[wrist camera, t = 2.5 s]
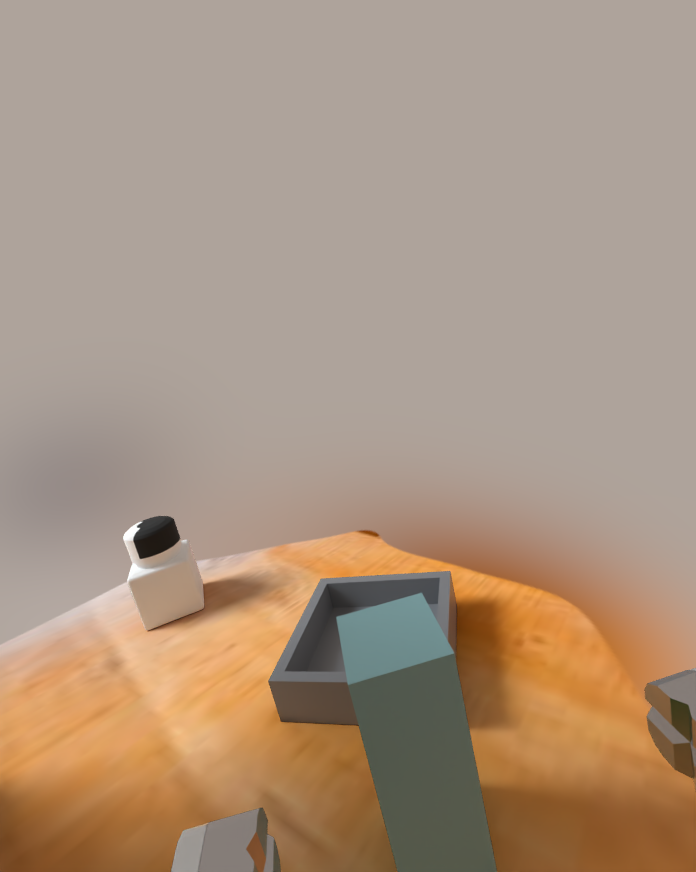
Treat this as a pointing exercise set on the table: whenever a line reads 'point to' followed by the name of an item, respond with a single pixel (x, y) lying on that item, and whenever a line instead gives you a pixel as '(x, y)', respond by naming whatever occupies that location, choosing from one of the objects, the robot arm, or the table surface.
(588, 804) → the table surface
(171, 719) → the table surface
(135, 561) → the medicine bottle
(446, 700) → the tall teal prism
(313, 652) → the box
